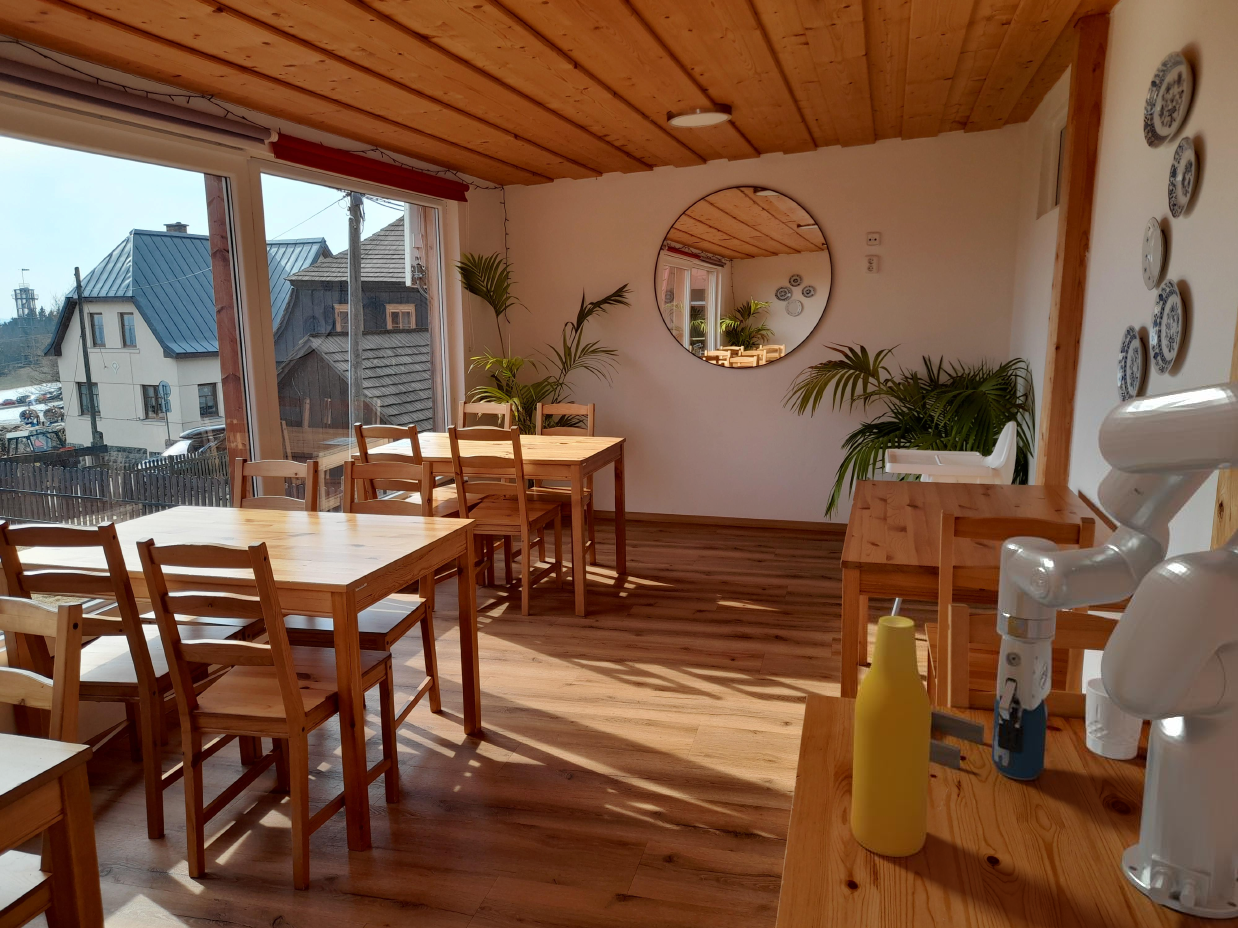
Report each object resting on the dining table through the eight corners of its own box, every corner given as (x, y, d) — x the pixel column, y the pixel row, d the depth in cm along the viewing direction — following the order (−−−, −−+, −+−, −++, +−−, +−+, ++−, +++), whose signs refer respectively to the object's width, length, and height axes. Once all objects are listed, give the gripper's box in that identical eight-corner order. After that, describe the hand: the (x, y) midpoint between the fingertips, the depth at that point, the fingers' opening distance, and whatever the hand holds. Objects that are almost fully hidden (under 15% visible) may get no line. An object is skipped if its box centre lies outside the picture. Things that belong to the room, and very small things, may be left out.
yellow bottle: (913, 868, 101) (924, 640, 97) (839, 842, 107) (846, 625, 102) (934, 830, 109) (945, 617, 104) (864, 808, 114) (871, 604, 110)
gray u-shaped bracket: (957, 769, 124) (958, 750, 123) (898, 749, 130) (899, 731, 129) (983, 742, 132) (984, 724, 132) (927, 724, 138) (927, 707, 137)
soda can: (1047, 767, 124) (1052, 690, 122) (1037, 787, 119) (1043, 707, 117) (997, 753, 128) (1001, 679, 126) (985, 772, 123) (990, 695, 121)
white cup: (1090, 759, 127) (1095, 696, 125) (1075, 734, 134) (1080, 675, 132) (1148, 764, 125) (1154, 701, 123) (1130, 739, 132) (1135, 679, 131)
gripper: (1035, 647, 111) (1027, 772, 114) (1071, 613, 124) (1063, 727, 127) (977, 634, 116) (970, 754, 119) (1017, 603, 129) (1011, 712, 132)
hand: (1018, 739), depth 123 cm, fingers closed on soda can, 6 cm apart
